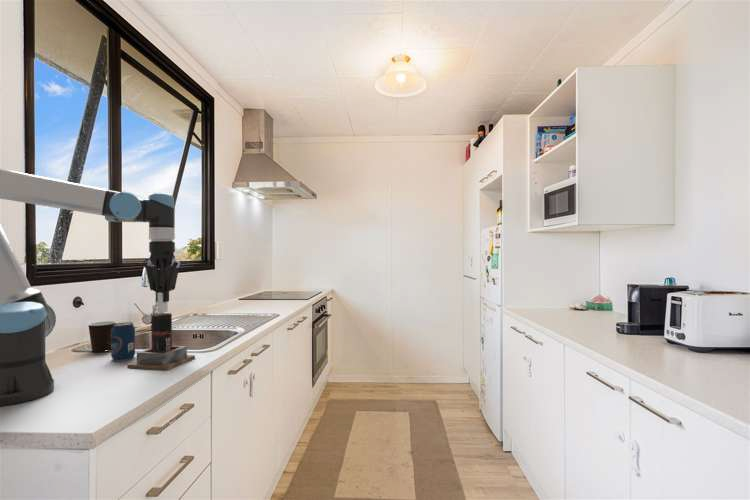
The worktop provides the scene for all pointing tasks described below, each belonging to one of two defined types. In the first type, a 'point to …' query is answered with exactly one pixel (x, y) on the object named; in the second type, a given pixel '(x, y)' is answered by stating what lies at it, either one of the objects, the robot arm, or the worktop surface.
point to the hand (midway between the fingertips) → (162, 311)
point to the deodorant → (161, 332)
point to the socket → (161, 359)
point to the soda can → (122, 341)
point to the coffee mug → (101, 335)
